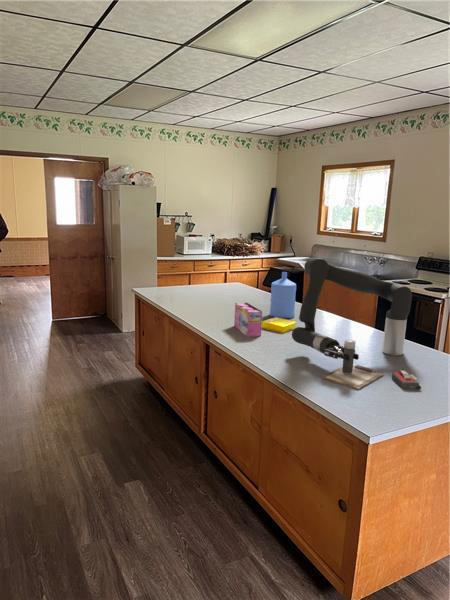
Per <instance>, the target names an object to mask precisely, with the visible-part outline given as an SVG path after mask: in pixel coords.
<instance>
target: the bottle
mask: <svg viewBox="0 0 450 600" xmlns="http://www.w3.org/2000/svg"><path fill="white" fill-rule="evenodd" d="M343 347H344V353H345V354H347V355H349V356H350V361H347V360H344V359H342V366H341V367H342V371H343V372H342V373H343V374H345V375H351V374H352V371H353V366H354V360H355V359H354V350H355V351H356V340H352V339H344V344H343Z"/></svg>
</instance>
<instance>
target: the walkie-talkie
mask: <svg viewBox="0 0 450 600" xmlns="http://www.w3.org/2000/svg"><path fill="white" fill-rule="evenodd" d="M391 379H392V380H393V381H394V382H395V383H396V385H398V386H399V387H400V388H401V389H403V390H415V391H416V390H421V389H422V386H421V385H420V382H418V378H417V376H415V375H414V374H410V373H409V372H408V371H406V370H405V369H404V368H402V369H401V370H398V372H397V371H394V372H392V375H391Z"/></svg>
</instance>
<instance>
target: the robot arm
mask: <svg viewBox="0 0 450 600" xmlns="http://www.w3.org/2000/svg"><path fill="white" fill-rule="evenodd" d="M303 268H304V271H305V273H306V274H307V276H308V277H309V282H308V287H307V291H306V293H305V295H304V297H303V300H302V302H301V306H300V311H299V317H298V320H299V321H300V322H301V323H304V327H300V326H298V327H297V326H296V328H295V329H294V330H291V338H292V340H293V341H294V342H295V343H298V344H300V345H303V346H308V347H310V348H312V349H314V350H316V351H317V352H319V353H320V354H323V356H325V357H329V358H332V359H337V360H338V359H340V360H341V359H342V360H343V359H344V360H347V361H350V356H349V355H347V354H345V353H344V345H341V344H340V342H339V341H338V340H336V339H334V338H332V337H329V336H327V335H325V334H320V333H318V332H316V327H315V318H316V313H317V309H318V303H319V298H320V296H321V292H322V290H323V286H324V284H325V281H329V282H332V283H335V284H337V285H339V286H341V287H343V288H346V289H349V290H352V291H355V292H357V293H363V294H368V295H369V294H370V295H376V296H378V297H381V298H383V299H385V300H387V301H389V302H390V303H391V305H390V309H389V310H387V311H386V313H385V314H386V315H385V324H384V331H383V332H384V336H383V342H382V352H383V354H386V355H390V356H396V357H397V356H402V355H404V354H403V353H404V347H405V346H404V345H405V339H406V330H407V322H408V316H409V314H410V311H411V306H412V300H413V292H412V290H411V288H410V287H408V286H406V285H404V284H401V283H394V282H390V281H386V280H381V279H378V278H377V277H375V276H374V275H370V274H368V273H366V272H363V271H360V270H357V269H353V268H349V267H341V266H336V265H334V264H330V263H328V261H327V260H326V259H324V258H322V257H312V258H309V259H307V261H306V262H305V263H304V265H303ZM359 357H360V356H359V354H358V353H356V349H355V350H354V360H359Z"/></svg>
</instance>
